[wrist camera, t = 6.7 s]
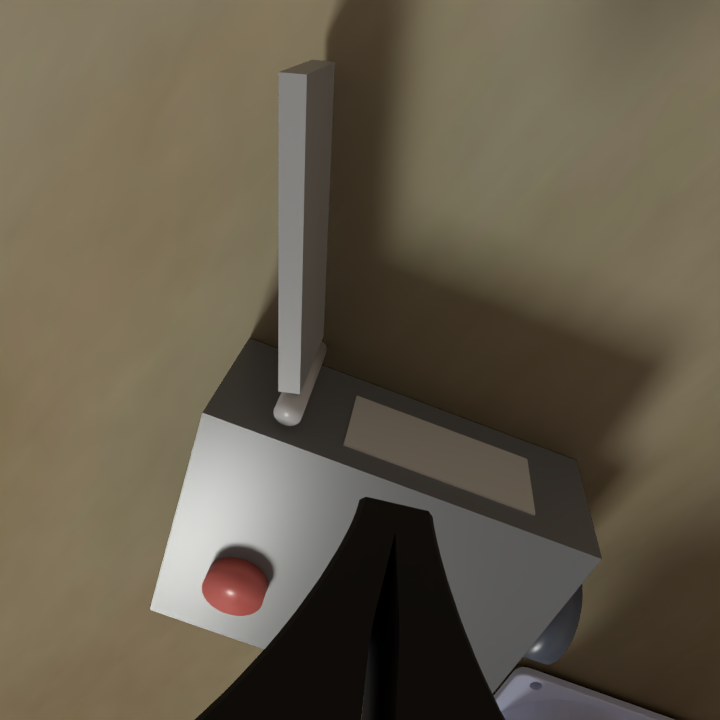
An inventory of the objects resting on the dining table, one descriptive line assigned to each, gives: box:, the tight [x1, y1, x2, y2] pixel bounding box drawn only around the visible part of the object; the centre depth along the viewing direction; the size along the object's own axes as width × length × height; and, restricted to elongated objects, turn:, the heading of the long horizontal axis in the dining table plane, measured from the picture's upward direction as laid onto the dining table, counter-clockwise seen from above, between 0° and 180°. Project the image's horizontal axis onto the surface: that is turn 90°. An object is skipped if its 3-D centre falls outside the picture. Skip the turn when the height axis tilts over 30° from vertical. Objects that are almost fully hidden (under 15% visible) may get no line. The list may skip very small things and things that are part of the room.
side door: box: [273, 60, 335, 426], centre depth 17 cm, size 9×1×4 cm, turn 176°
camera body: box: [150, 338, 602, 694], centre depth 22 cm, size 13×9×5 cm
